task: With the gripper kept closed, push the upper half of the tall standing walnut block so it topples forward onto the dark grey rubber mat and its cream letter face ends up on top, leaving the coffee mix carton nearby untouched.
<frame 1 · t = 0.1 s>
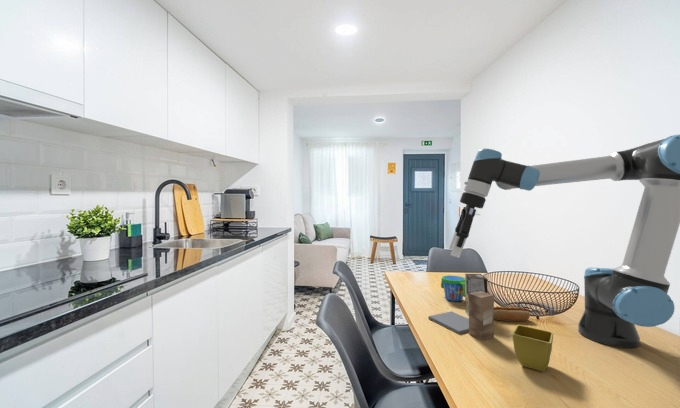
hand: (453, 253, 101), 28 cm above the table, tool tilted 20°, fingers open, 13 cm apart
snack cup: (453, 299, 137), on the table
coffee box: (475, 316, 116), on the table
food: (509, 320, 113), on the table
flower pot: (533, 366, 81), on the table
mat: (454, 323, 109), on the table
walnut block: (481, 335, 99), on the table
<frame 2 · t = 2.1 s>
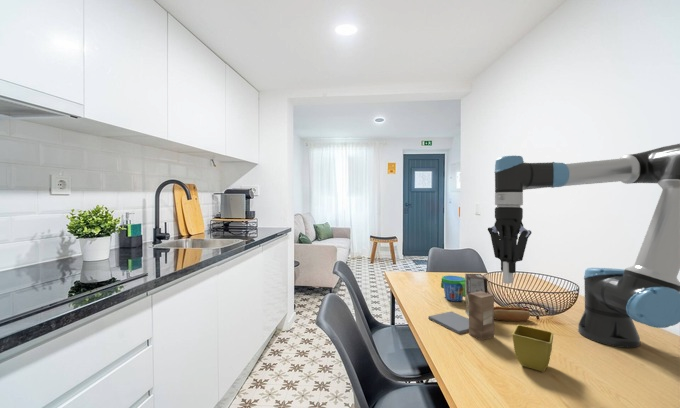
hand: (508, 282, 90), 20 cm above the table, tool pointing down, fingers closed
nothing on the table moved.
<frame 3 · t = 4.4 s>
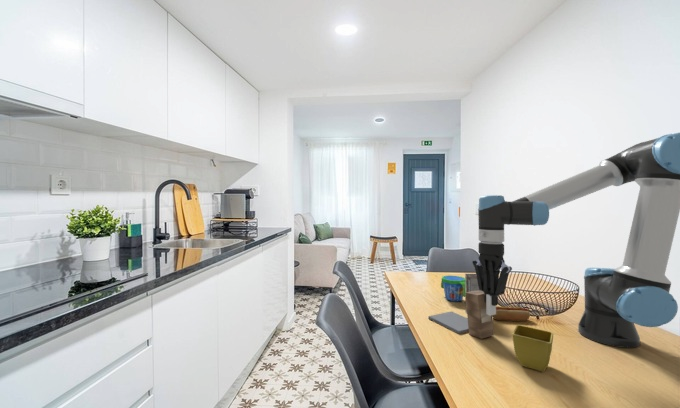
hand: (491, 314, 96), 9 cm above the table, tool pointing down, fingers closed
walnut block: (481, 334, 99), on the table, tilted 6°
everything else where it was.
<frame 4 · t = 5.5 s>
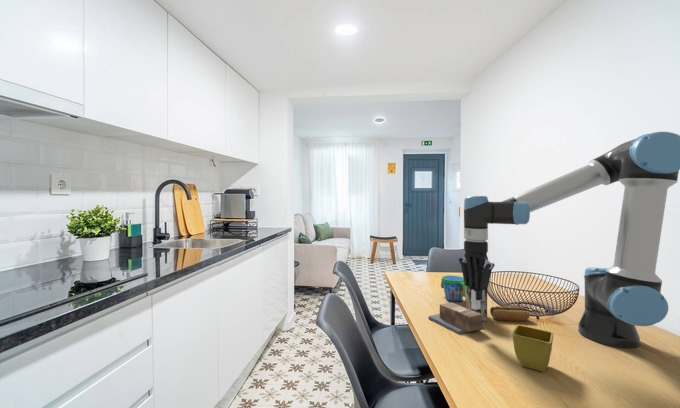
hand: (475, 308, 101), 8 cm above the table, tool pointing down, fingers closed
walnut block: (475, 322, 101), point 3 cm above the table, tilted 90°, touching mat
everything else where it was.
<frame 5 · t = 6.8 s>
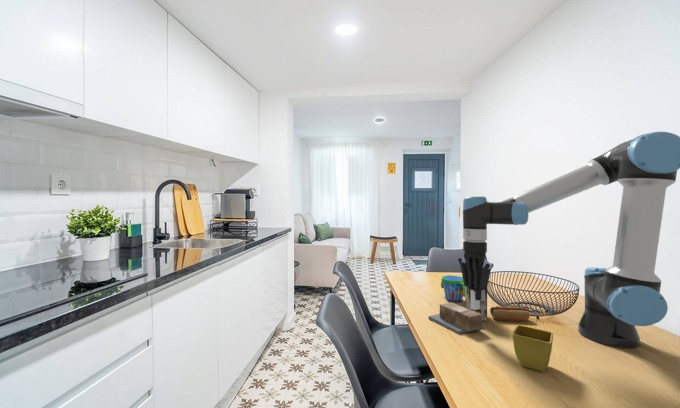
hand: (475, 308, 101), 8 cm above the table, tool pointing down, fingers closed
nothing on the table moved.
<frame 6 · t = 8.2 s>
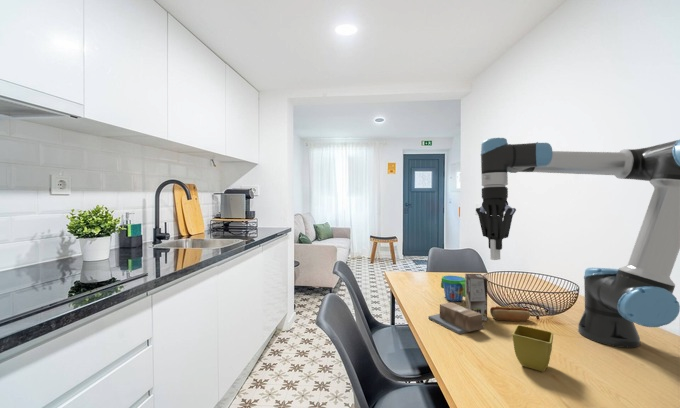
hand: (495, 259, 95), 27 cm above the table, tool pointing down, fingers closed
nothing on the table moved.
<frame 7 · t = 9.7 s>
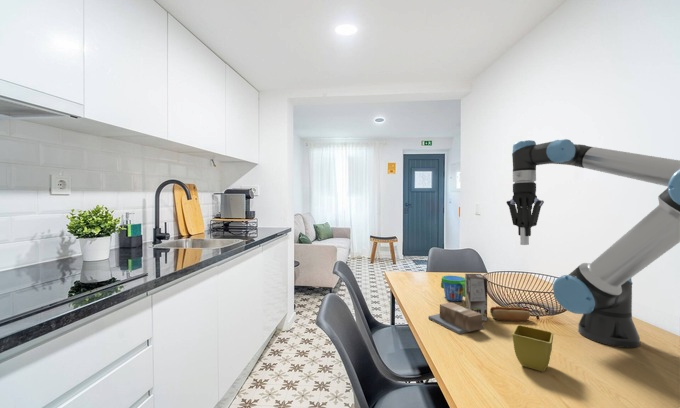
hand: (524, 244, 111), 29 cm above the table, tool pointing down, fingers closed
nothing on the table moved.
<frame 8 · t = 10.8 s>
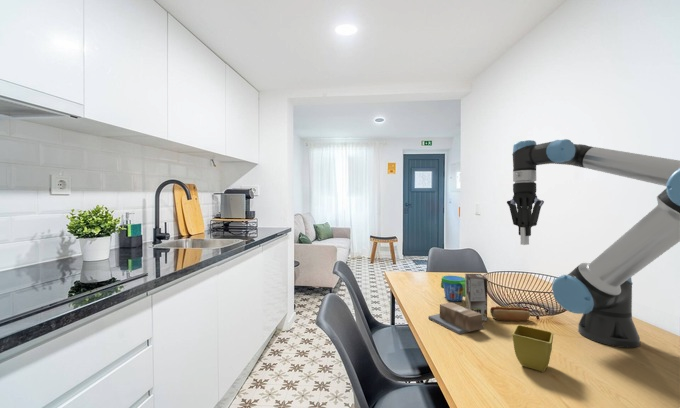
hand: (524, 244, 111), 29 cm above the table, tool pointing down, fingers closed
nothing on the table moved.
at the end: walnut block tilted 90°; walnut block inside the target area (10.8 cm from its centre), point 3.5 cm above the table; coffee box moved 0.2 cm from its start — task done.
